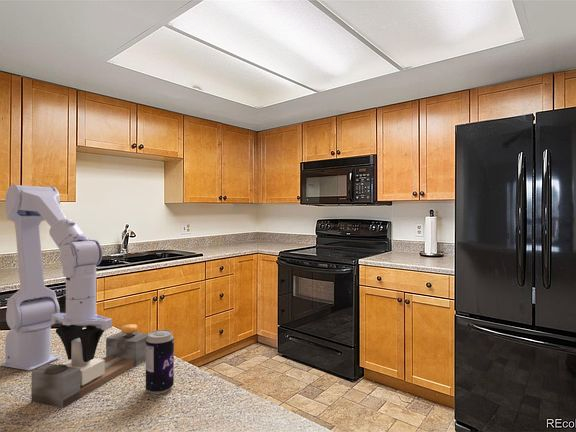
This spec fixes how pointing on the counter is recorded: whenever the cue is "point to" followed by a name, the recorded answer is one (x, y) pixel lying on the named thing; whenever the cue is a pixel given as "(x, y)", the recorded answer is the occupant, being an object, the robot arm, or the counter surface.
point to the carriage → (84, 363)
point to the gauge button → (129, 330)
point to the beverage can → (159, 361)
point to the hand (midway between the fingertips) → (80, 359)
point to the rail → (66, 380)
